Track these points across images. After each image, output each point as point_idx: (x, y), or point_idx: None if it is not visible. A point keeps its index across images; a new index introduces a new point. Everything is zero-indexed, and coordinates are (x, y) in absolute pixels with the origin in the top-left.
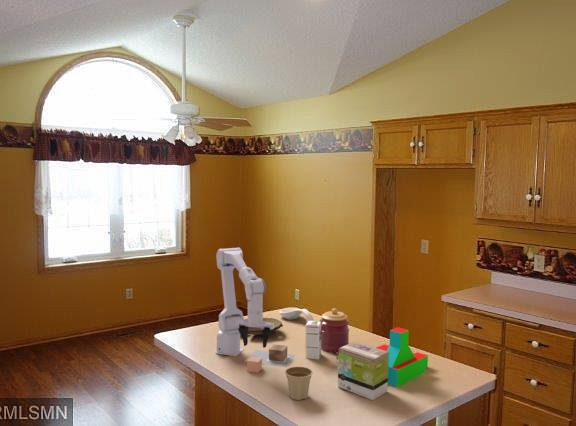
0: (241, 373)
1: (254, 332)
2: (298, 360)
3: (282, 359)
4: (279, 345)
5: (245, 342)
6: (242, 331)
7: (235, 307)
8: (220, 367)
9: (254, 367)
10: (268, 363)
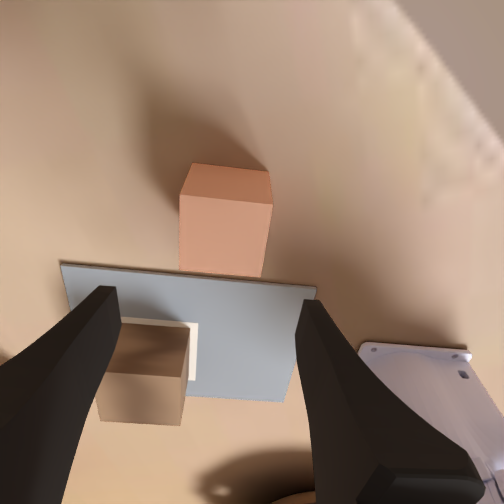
0: (298, 141)
1: (313, 500)
2: None
3: None
4: (144, 420)
5: (310, 324)
6: (388, 439)
7: None
8: (444, 205)
9: (213, 179)
10: (176, 293)
